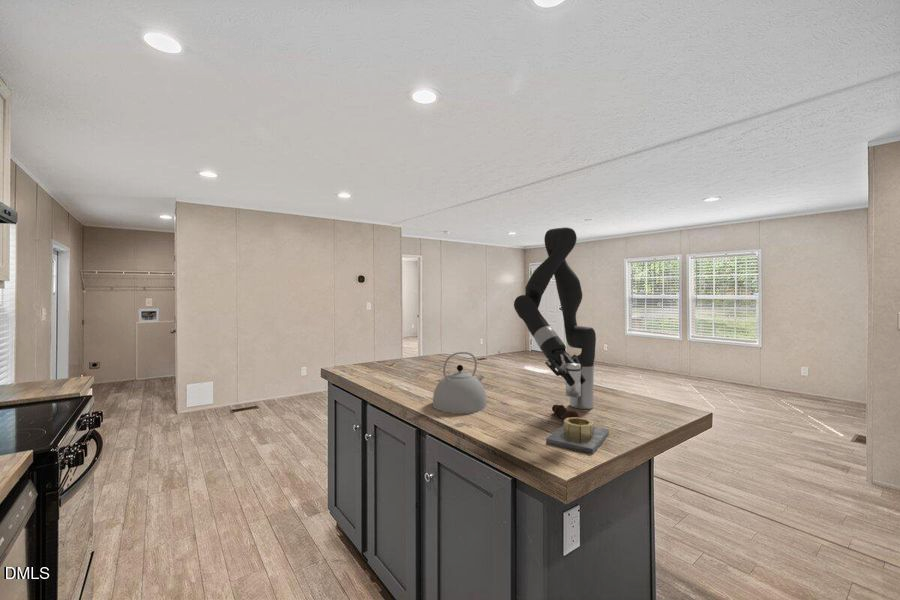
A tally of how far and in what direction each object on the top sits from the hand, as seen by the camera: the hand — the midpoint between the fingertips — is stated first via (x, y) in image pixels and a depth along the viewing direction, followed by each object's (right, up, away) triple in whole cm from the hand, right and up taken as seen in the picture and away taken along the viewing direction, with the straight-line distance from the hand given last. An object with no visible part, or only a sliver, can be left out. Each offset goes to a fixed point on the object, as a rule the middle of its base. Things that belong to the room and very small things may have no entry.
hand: (578, 383), depth 123 cm
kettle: (-36, -18, +39) cm, 56 cm away
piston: (-1, -4, +2) cm, 5 cm away
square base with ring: (0, -18, +1) cm, 18 cm away
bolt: (+2, -18, +21) cm, 28 cm away
